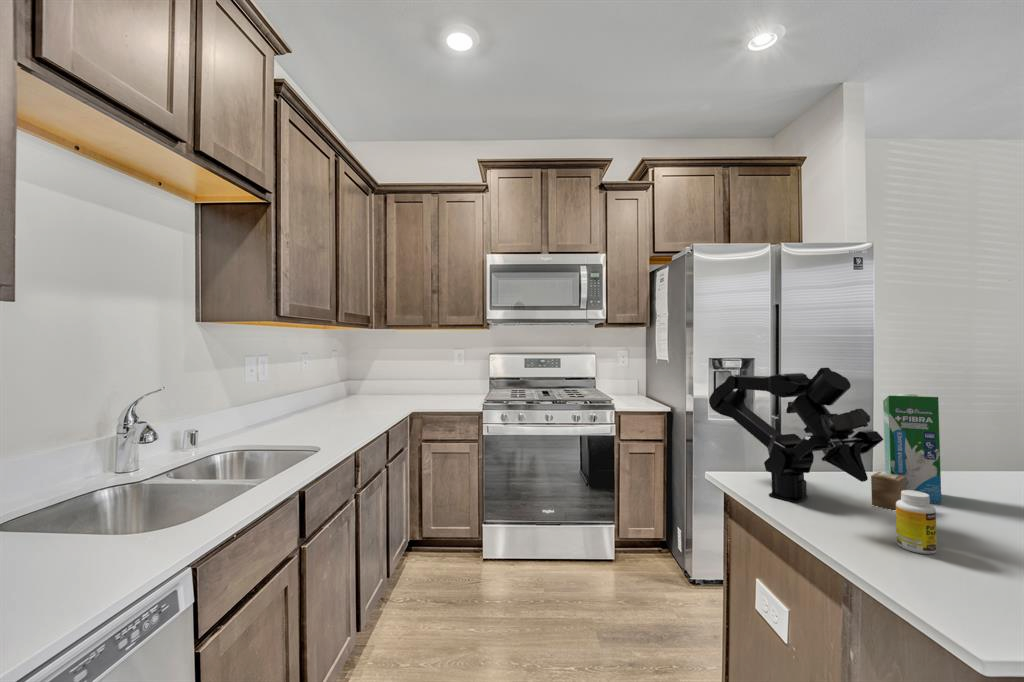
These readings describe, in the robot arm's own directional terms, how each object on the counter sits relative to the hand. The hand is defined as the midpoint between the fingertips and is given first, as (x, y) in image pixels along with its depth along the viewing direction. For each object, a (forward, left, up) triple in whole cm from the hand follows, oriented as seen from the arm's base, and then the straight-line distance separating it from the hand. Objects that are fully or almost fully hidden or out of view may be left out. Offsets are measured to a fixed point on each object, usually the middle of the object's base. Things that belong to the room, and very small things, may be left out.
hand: (865, 480), depth 93 cm
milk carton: (0, +31, -10) cm, 33 cm away
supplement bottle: (+9, -4, -10) cm, 14 cm away
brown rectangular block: (-1, +18, -10) cm, 21 cm away
